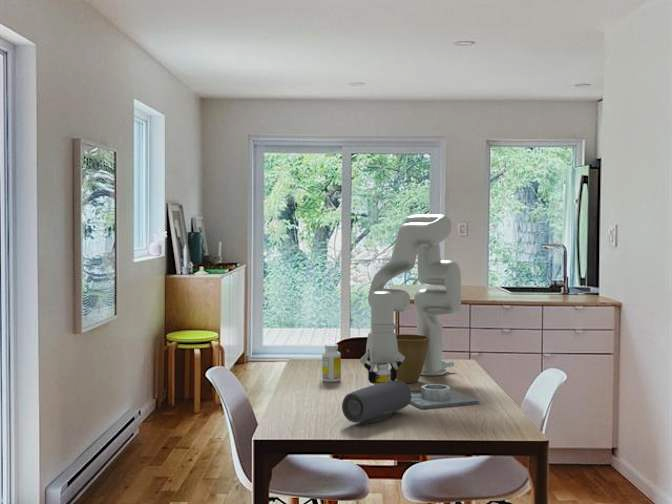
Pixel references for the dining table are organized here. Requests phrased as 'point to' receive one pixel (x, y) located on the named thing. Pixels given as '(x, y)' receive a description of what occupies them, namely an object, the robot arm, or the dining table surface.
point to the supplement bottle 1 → (331, 363)
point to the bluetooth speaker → (376, 401)
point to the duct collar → (439, 397)
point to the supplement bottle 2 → (382, 373)
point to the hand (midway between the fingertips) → (382, 381)
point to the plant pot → (411, 356)
